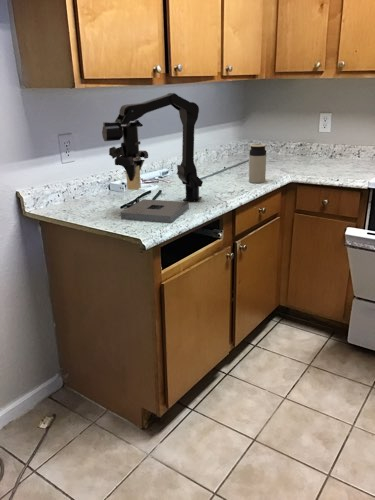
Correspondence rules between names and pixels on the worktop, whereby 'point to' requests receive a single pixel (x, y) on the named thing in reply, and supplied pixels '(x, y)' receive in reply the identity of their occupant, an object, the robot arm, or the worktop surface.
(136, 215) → the post plate
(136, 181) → the brass peg
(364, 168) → the worktop surface
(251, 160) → the travel mug
